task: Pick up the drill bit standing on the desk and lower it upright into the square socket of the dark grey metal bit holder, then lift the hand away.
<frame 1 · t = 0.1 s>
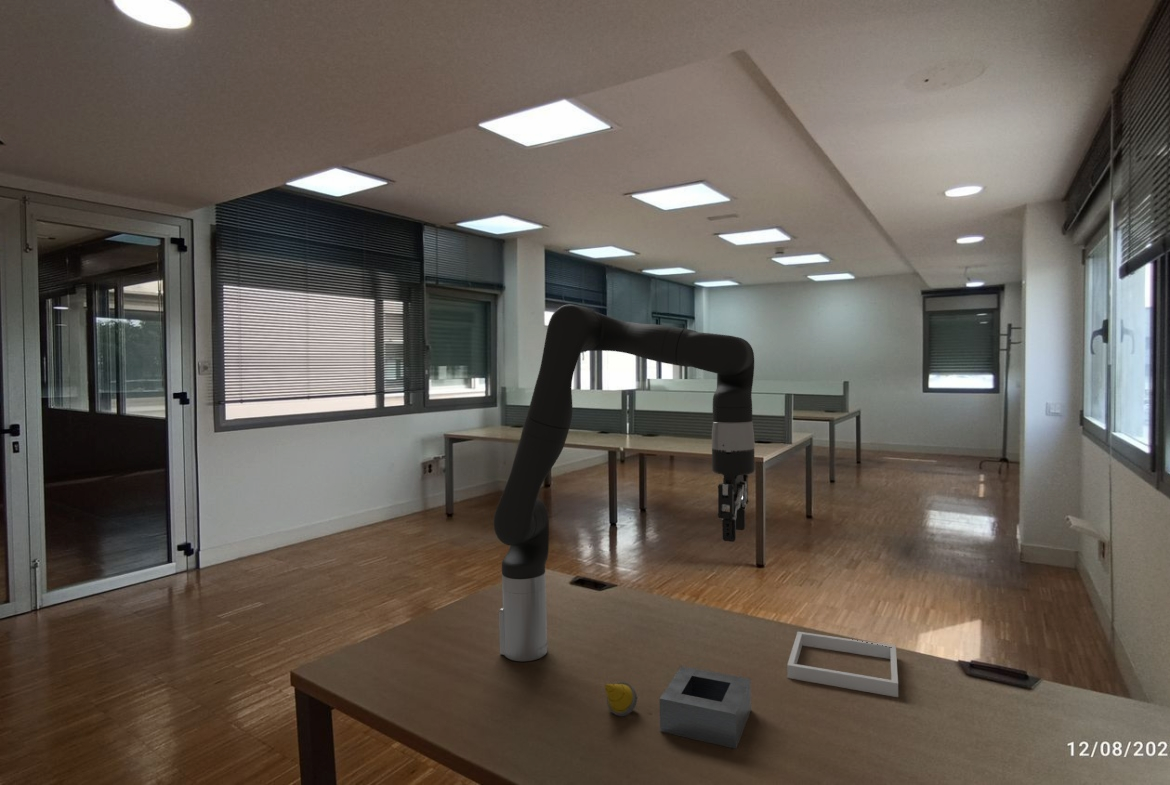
hand: (734, 535, 114), 29 cm above the table, fingers open, 8 cm apart
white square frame: (843, 667, 123), on the table
bit holder: (706, 720, 106), on the table
drill bit: (621, 716, 108), on the table
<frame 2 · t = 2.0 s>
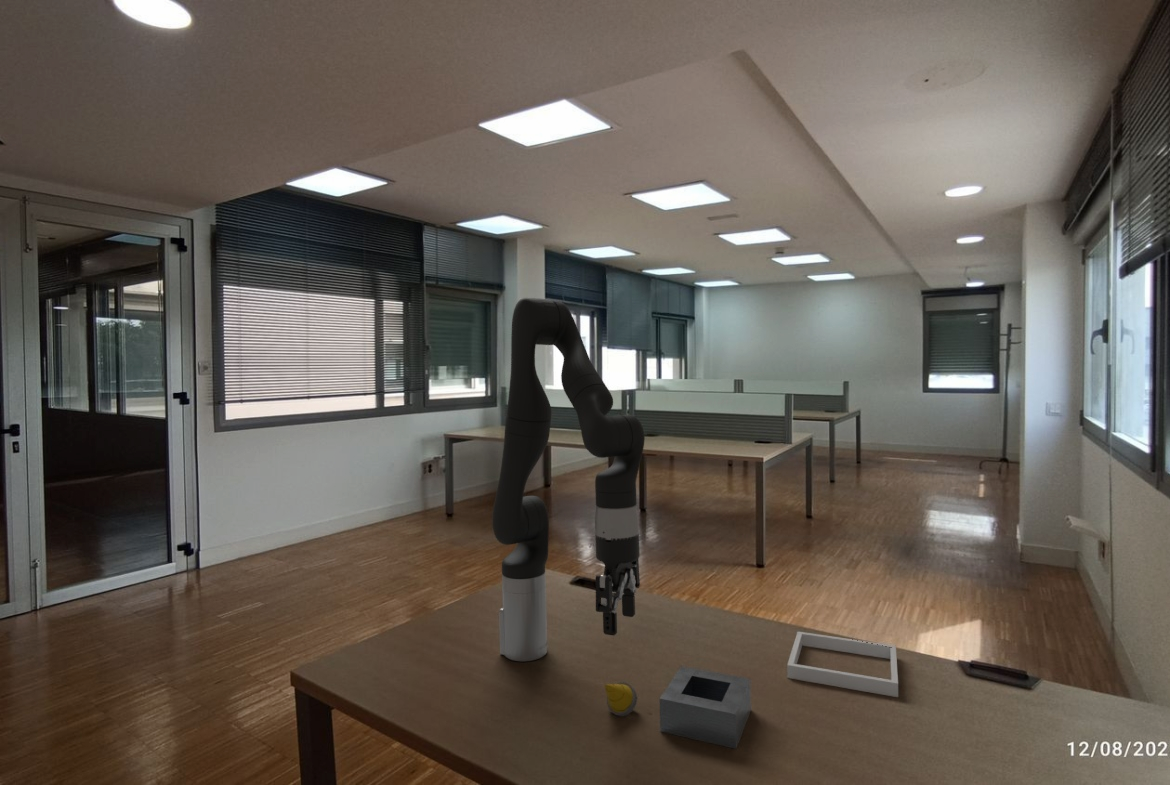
hand: (619, 624, 108), 16 cm above the table, fingers open, 8 cm apart
nothing on the table moved.
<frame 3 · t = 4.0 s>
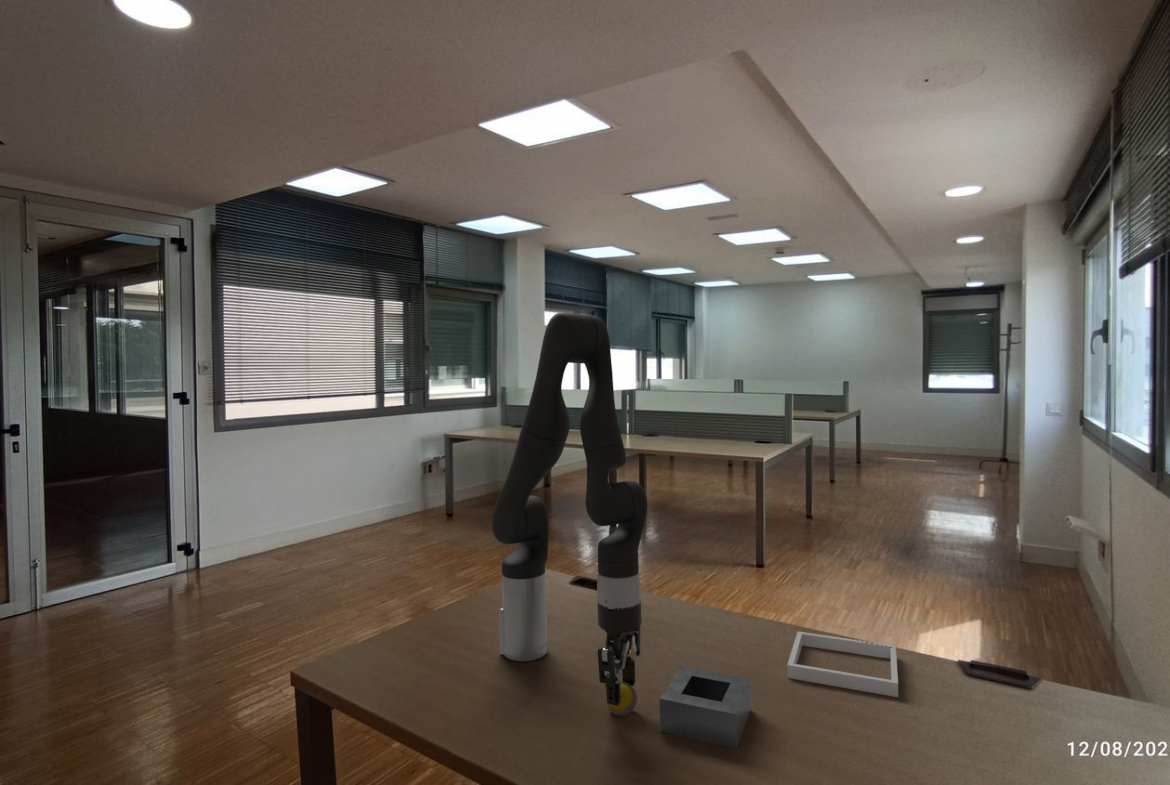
hand: (621, 693, 108), 4 cm above the table, fingers closed on drill bit, 6 cm apart
drill bit: (621, 716, 108), on the table, touching gripper
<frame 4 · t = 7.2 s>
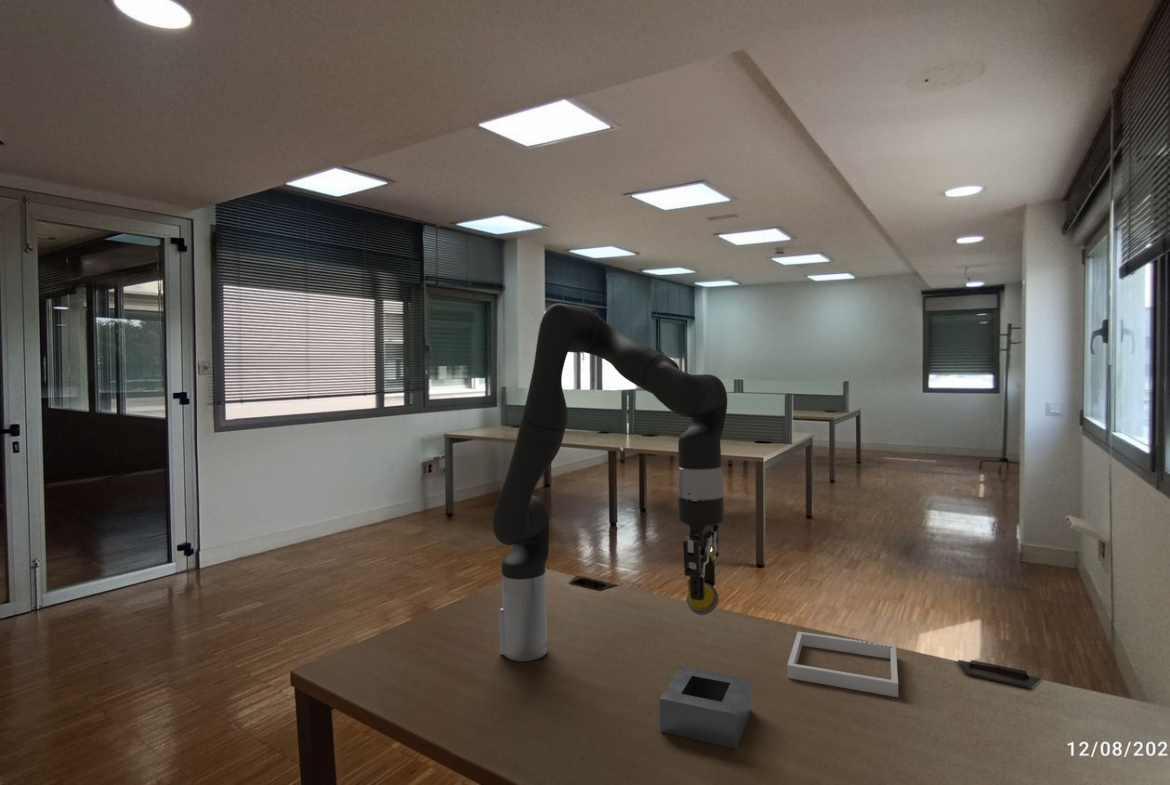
hand: (703, 591, 105), 22 cm above the table, fingers closed on drill bit, 6 cm apart
drill bit: (702, 615, 105), point 18 cm above the table, touching gripper
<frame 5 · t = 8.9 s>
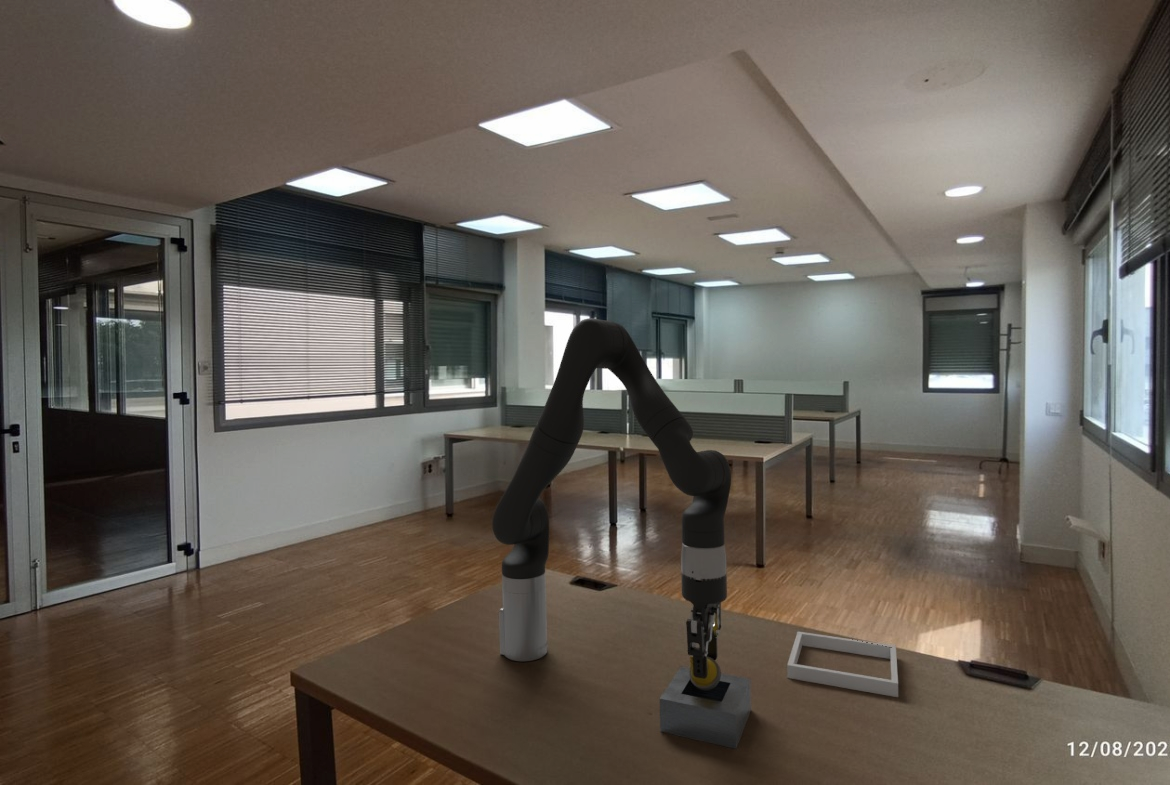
hand: (705, 667, 105), 9 cm above the table, fingers closed on drill bit, 6 cm apart
drill bit: (704, 690, 106), point 5 cm above the table, touching gripper
when the fingers open (7 cm above the table, at t = 10.4 s): drill bit drops 2 cm, resting on bit holder.
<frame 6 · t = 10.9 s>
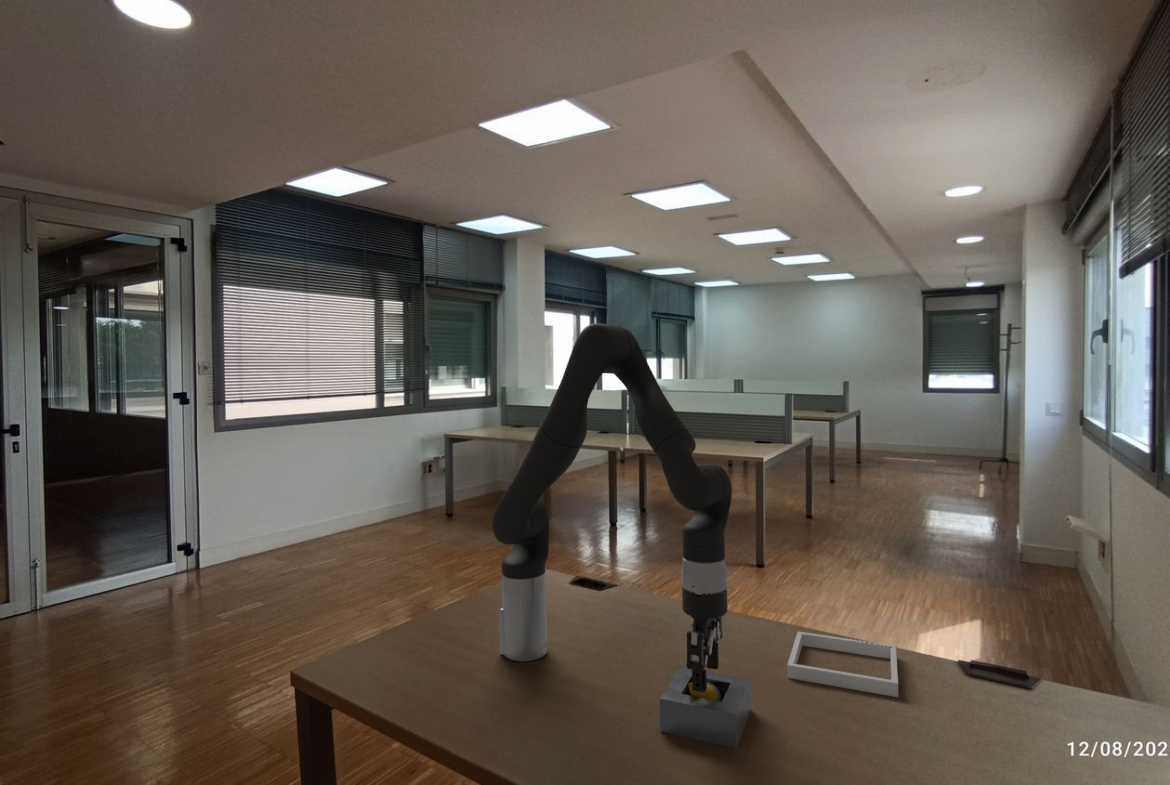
hand: (706, 678, 105), 7 cm above the table, fingers open, 8 cm apart
drill bit: (704, 716, 105), point 1 cm above the table, touching bit holder
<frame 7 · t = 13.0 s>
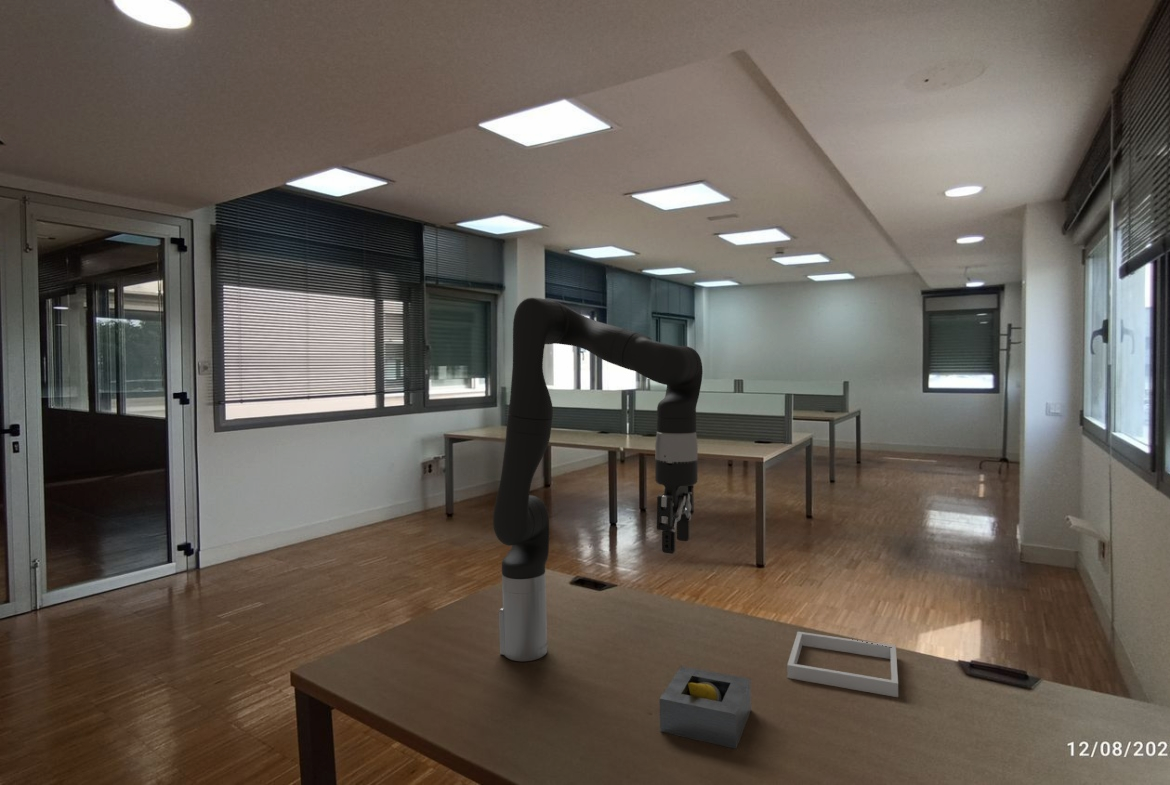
hand: (676, 546, 113), 28 cm above the table, fingers open, 8 cm apart
nothing on the table moved.
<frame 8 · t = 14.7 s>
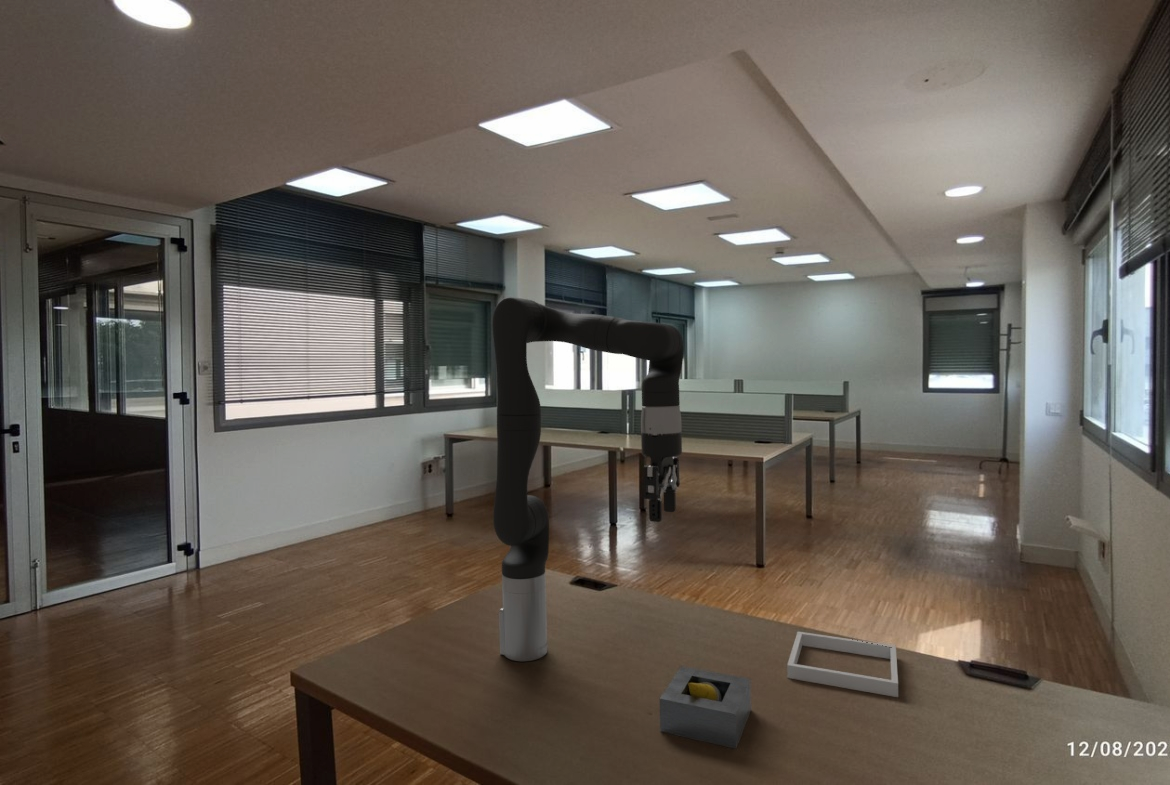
hand: (663, 516, 117), 32 cm above the table, fingers open, 8 cm apart
nothing on the table moved.
at the end: drill bit 0.4 cm off-centre on the bit holder, point 0.8 cm above the bit holder's base; drill bit tilted 0°; the gripper is holding nothing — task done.
